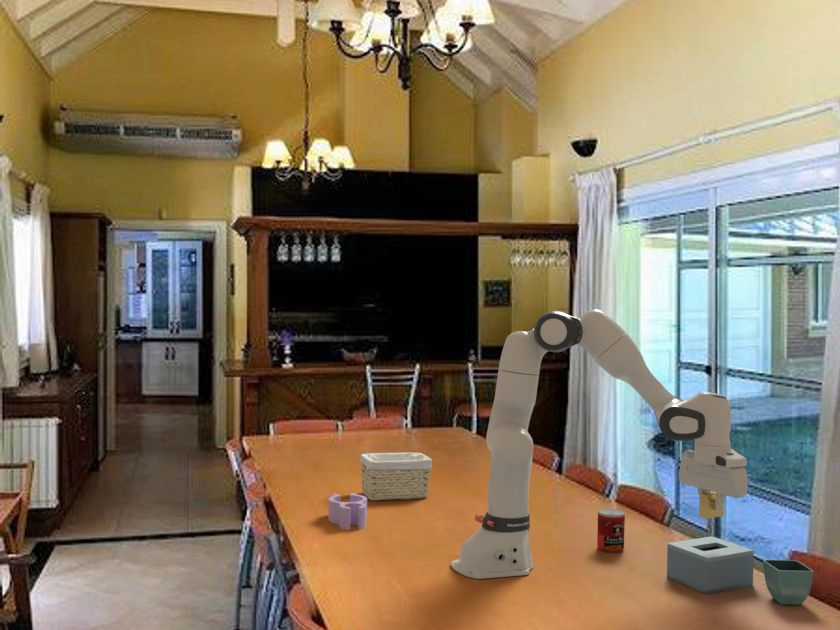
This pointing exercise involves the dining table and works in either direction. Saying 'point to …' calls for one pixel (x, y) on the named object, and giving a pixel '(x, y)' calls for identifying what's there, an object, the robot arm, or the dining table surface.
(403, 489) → the storage basket
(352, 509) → the clip
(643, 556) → the dining table surface
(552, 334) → the robot arm
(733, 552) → the tissue box
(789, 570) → the flower pot
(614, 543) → the canned food
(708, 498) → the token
